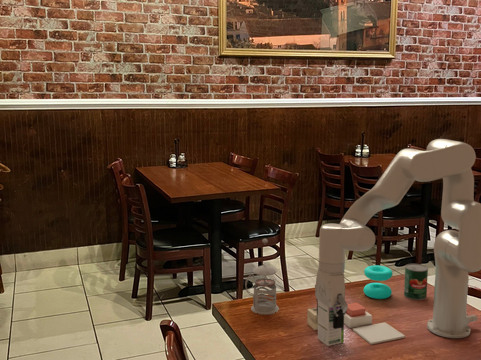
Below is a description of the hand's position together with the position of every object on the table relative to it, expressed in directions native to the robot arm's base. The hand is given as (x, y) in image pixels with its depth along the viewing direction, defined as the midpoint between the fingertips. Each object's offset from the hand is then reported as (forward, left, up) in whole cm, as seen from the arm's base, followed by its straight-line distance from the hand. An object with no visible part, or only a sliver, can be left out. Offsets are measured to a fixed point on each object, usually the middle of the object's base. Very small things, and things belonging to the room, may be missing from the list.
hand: (329, 320), depth 156 cm
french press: (+10, -29, -7) cm, 31 cm away
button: (-14, -9, -4) cm, 17 cm away
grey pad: (-16, +2, -6) cm, 18 cm away
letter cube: (-2, -10, -7) cm, 12 cm away
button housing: (-14, -9, -6) cm, 18 cm away
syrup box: (0, 0, -7) cm, 7 cm away
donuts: (-34, -25, -7) cm, 43 cm away
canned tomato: (-46, -19, -7) cm, 50 cm away
